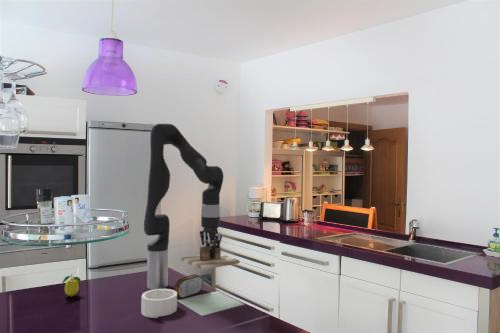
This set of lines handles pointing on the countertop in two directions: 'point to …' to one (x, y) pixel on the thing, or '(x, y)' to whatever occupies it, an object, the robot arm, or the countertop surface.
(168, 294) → the bowl
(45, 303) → the countertop surface
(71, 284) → the lemon
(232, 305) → the mat
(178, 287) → the tin
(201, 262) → the cover board
